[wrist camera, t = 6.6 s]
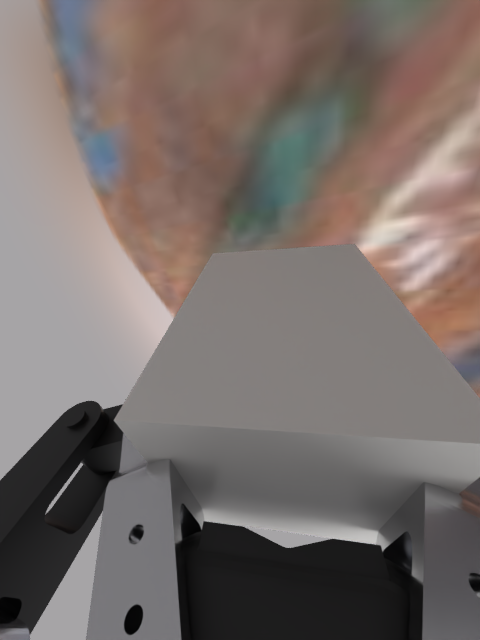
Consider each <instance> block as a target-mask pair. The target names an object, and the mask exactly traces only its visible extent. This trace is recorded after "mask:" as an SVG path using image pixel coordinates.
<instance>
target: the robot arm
mask: <svg viewBox="0 0 480 640" xmlns="http://www.w3.org/2000/svg"><path fill="white" fill-rule="evenodd" d="M121 407H122V405H119V406H115V407H111V408H107V409H102V407H101V406H100V405H99V404H98V403H97V402H94V401H86V402H82V403H79V404H77V405H75V406H73V407H72V408H70V409H69V410H67V411H66V412H65V413H64V414H63V415H62V416H61V417H60V418H59V419H58V420H57V421H56V422H55V423H54V424H53V425H52V426H51V427H50V428H49V429H48V431H47V432H46V433H45V434H44V435H43V436H42V437H41V438H40V439H39V440H38V441H37V442H36V443H35V444H34V445H33V446H32V447H31V449H30V450H29V451H28V452H27V453H26V454H25V455H24V456H23V457H22V458H21V459H20V460H19V461H18V463H16V465H15V466H14V467H13V468H12V469H11V470H10V471H9V472H8V473H7V474H6V475H5V476H4V477H3V478H2V479H1V480H0V640H30V634H31V632H32V630H33V629H34V627H35V625H36V624H37V622H38V620H39V618H40V617H41V615H42V613H43V612H44V610H45V608H46V607H47V605H48V603H49V601H50V600H51V598H52V596H53V595H54V593H55V591H56V589H57V588H58V586H59V584H60V583H61V581H62V579H63V578H64V576H65V574H66V572H67V571H68V569H69V567H70V566H71V564H72V562H73V561H74V559H75V557H76V555H77V554H78V552H79V550H80V549H81V547H82V545H83V543H84V542H85V540H86V538H87V537H88V535H89V533H90V532H91V530H92V528H93V526H94V525H95V523H96V521H97V520H98V518H99V516H100V514H101V513H102V511H103V515H102V522H101V530H100V538H99V545H98V554H97V560H96V568H95V576H94V583H93V591H92V599H91V606H90V614H89V621H88V629H87V636H86V640H480V477H479V478H478V479H477V480H476V481H474V482H473V483H472V484H471V485H469V486H468V487H467V488H465V489H464V490H463V491H462V492H460V493H455V492H452V491H450V490H448V489H446V488H444V487H441V486H438V485H435V484H431V483H427V482H423V483H422V484H421V485H420V486H419V487H418V489H417V490H416V491H415V492H414V493H413V494H412V495H411V496H410V497H409V498H408V499H407V500H406V501H405V503H404V504H403V505H402V506H401V507H400V508H399V509H398V510H397V511H396V512H395V513H394V514H393V516H392V517H391V518H390V519H389V520H388V521H387V522H386V523H385V524H384V525H383V526H382V527H381V529H380V530H379V531H378V535H377V540H376V545H375V544H367V543H360V542H353V541H345V540H338V539H330V540H326V541H321V542H316V543H312V544H308V545H303V546H298V547H294V548H285V547H282V546H280V545H278V544H276V543H274V542H272V541H270V540H268V539H266V538H265V537H263V536H260V535H258V534H257V533H254V532H253V531H250V530H249V529H246V528H245V527H242V526H235V525H228V524H220V523H213V522H206V521H205V520H204V514H203V510H202V507H201V506H200V504H199V503H198V501H197V500H196V498H195V497H194V495H193V493H192V492H191V490H190V489H189V487H188V486H187V484H186V483H185V481H184V480H183V478H182V477H181V475H180V474H179V472H178V470H177V469H176V467H175V466H174V464H173V463H172V461H171V460H170V459H161V460H157V461H154V462H151V463H147V461H146V460H145V459H144V458H143V456H142V455H141V454H140V453H139V451H138V450H137V449H136V448H135V446H134V445H133V444H132V443H131V441H130V440H129V439H128V438H127V436H126V435H125V434H124V433H123V431H122V430H121V429H120V428H119V426H118V425H117V424H116V423H115V421H114V419H115V417H116V416H117V414H118V412H119V410H120V409H121ZM80 463H83V466H82V467H81V469H80V470H79V471H78V473H77V474H76V475H75V477H74V478H73V480H72V481H71V482H70V484H69V485H68V486H67V488H66V489H65V491H64V492H63V493H62V495H61V496H60V498H59V499H58V500H57V501H56V503H55V504H54V506H53V507H52V508H51V510H50V511H49V512H48V513H47V514H46V515H45V513H46V510H47V508H48V507H49V504H50V503H51V502H52V500H53V499H54V498H55V496H56V495H57V494H58V492H59V491H60V490H61V488H62V487H63V486H64V484H65V483H66V482H67V480H68V479H69V478H70V476H71V475H72V474H73V472H74V471H75V470H76V468H77V467H78V465H79V464H80Z"/></svg>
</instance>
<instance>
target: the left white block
mask: <svg viewBox="0 0 480 640" xmlns="http://www.w3.org/2000/svg"><path fill="white" fill-rule="evenodd" d="M114 421H115V423H116V424H117V425H118V426H119V428H120V429H121V430H122V431H123V433H124V434H125V435H126V436H127V438H128V439H129V440H130V441H131V443H132V444H133V445H134V446H135V448H136V449H137V450H138V451H139V453H140V454H141V455H142V456H143V458H144V459H145V460H146V461H147V463H151V462H154V461H157V460H161V459H170V460H171V461H172V463H173V464H174V466H175V467H176V469H177V470H178V472H179V474H180V475H181V477H182V478H183V480H184V481H185V483H186V484H187V486H188V487H189V489H190V490H191V492H192V493H193V495H194V497H195V498H196V500H197V501H198V503H199V504H200V506H201V507H202V510H203V514H204V520H205V521H208V522H216V523H223V524H230V525H238V526H245V527H252V528H260V529H268V530H274V531H282V532H289V533H296V534H304V535H311V536H318V537H326V538H333V539H340V540H348V541H355V542H363V543H370V544H376V540H377V535H378V531H379V530H380V529H381V527H382V526H383V525H384V524H385V523H386V522H387V521H388V520H389V519H390V518H391V517H392V516H393V514H394V513H395V512H396V511H397V510H398V509H399V508H400V507H401V506H402V505H403V504H404V503H405V501H406V500H407V499H408V498H409V497H410V496H411V495H412V494H413V493H414V492H415V491H416V490H417V489H418V487H419V486H420V485H421V484H422V483H423V482H427V483H431V484H435V485H438V486H441V487H444V488H446V489H448V490H450V491H452V492H455V493H460V492H462V491H463V490H464V489H465V488H467V487H468V486H469V485H471V484H472V483H473V482H474V481H476V480H477V479H478V478H479V477H480V398H479V397H478V396H477V394H476V393H475V392H474V391H473V390H472V388H471V387H470V386H469V385H468V383H467V382H466V381H465V380H464V378H463V377H462V376H461V375H460V373H459V372H458V371H457V370H456V369H455V367H454V366H453V365H452V364H451V362H450V361H449V360H448V359H447V357H446V356H445V355H444V354H443V352H442V351H441V350H440V349H439V348H438V346H437V345H436V344H435V343H434V341H433V340H432V339H431V338H430V336H429V335H428V334H427V333H426V332H425V330H424V329H423V328H422V327H421V325H420V324H419V323H418V322H417V320H416V319H415V318H414V317H413V315H412V314H411V313H410V312H409V311H408V309H407V308H406V307H405V306H404V304H403V303H402V302H401V301H400V299H399V298H398V297H397V296H396V294H395V293H394V292H393V291H392V290H391V288H390V287H389V286H388V285H387V283H386V282H385V281H384V280H383V278H382V277H381V276H380V275H379V273H378V272H377V271H376V270H375V269H374V267H373V266H372V265H371V264H370V262H369V261H368V260H367V259H366V257H365V256H364V255H363V254H362V252H361V251H360V250H359V249H358V248H357V246H356V245H355V244H347V245H332V246H317V247H302V248H286V249H271V250H256V251H241V252H226V253H213V254H212V256H211V257H210V259H209V261H208V262H207V264H206V266H205V267H204V269H203V271H202V272H201V274H200V276H199V278H198V279H197V281H196V283H195V284H194V286H193V288H192V289H191V291H190V293H189V294H188V296H187V298H186V299H185V301H184V303H183V304H182V306H181V308H180V309H179V311H178V313H177V315H176V316H175V318H174V320H173V321H172V323H171V325H170V326H169V328H168V330H167V332H166V333H165V335H164V337H163V338H162V340H161V341H160V343H159V345H158V347H157V348H156V350H155V352H154V353H153V355H152V357H151V358H150V360H149V362H148V363H147V365H146V367H145V369H144V370H143V372H142V373H141V375H140V377H139V379H138V380H137V382H136V384H135V386H134V387H133V389H132V390H131V392H130V394H129V395H128V397H127V399H126V401H125V402H124V404H123V405H122V407H121V409H120V410H119V412H118V414H117V416H116V417H115V419H114Z"/></svg>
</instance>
